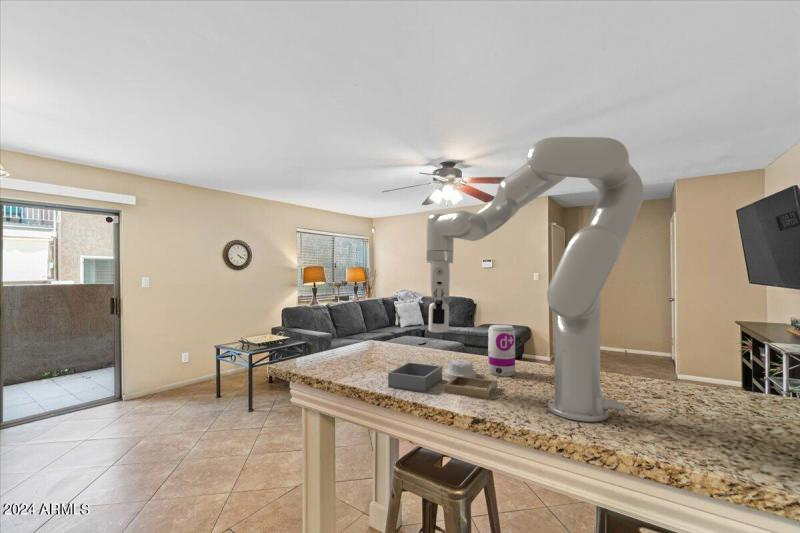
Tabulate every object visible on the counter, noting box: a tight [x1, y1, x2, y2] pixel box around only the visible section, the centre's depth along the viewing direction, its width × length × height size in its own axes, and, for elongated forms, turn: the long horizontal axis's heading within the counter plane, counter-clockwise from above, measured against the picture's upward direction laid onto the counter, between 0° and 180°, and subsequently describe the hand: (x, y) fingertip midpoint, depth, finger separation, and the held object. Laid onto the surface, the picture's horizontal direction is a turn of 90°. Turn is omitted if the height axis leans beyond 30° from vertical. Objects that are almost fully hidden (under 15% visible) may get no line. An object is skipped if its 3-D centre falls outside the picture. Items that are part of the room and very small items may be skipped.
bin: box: [387, 362, 443, 393], centre depth 105 cm, size 11×13×4 cm
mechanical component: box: [444, 359, 478, 379], centre depth 113 cm, size 10×4×10 cm
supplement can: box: [487, 324, 516, 377], centre depth 116 cm, size 8×8×15 cm
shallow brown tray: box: [443, 376, 498, 400], centre depth 99 cm, size 12×10×2 cm
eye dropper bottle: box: [427, 295, 450, 334], centre depth 103 cm, size 4×6×12 cm
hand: (438, 321), depth 103 cm, fingers closed on eye dropper bottle, 4 cm apart
